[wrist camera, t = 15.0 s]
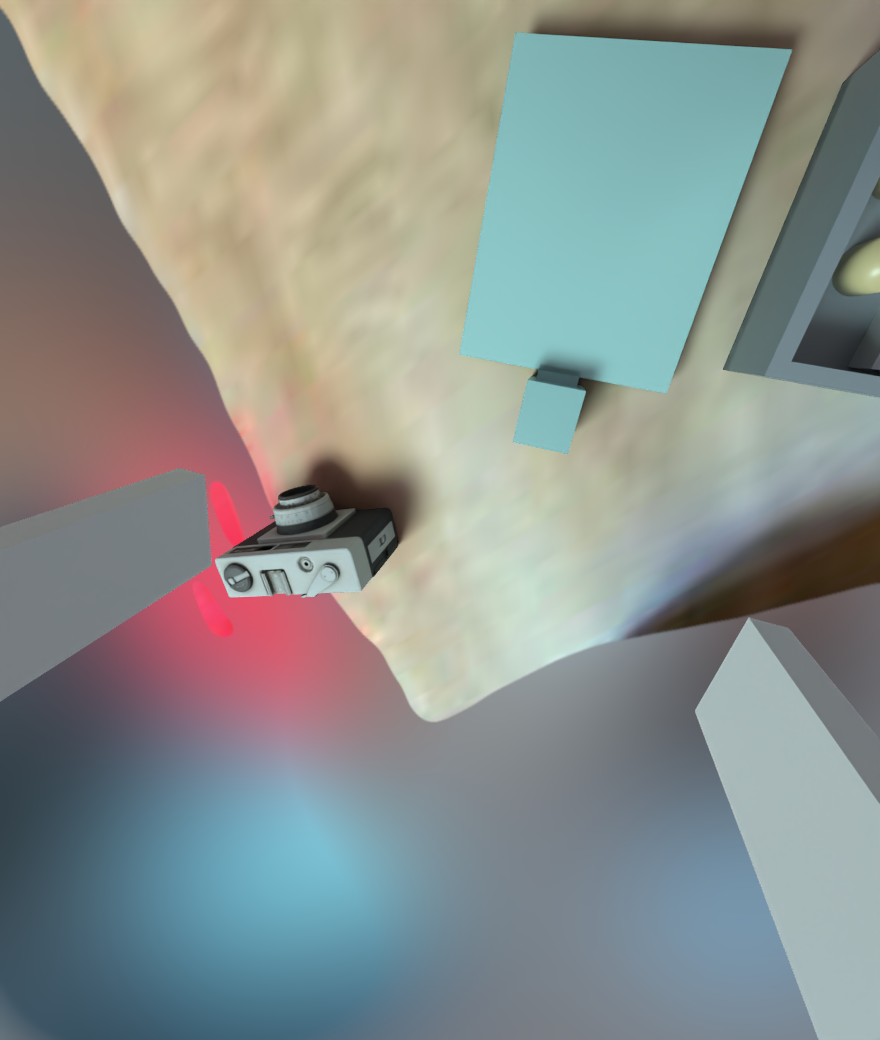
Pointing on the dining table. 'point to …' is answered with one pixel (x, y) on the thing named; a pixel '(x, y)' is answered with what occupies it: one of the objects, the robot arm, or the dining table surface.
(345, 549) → the camera
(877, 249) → the tub
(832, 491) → the dining table surface
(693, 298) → the lid
